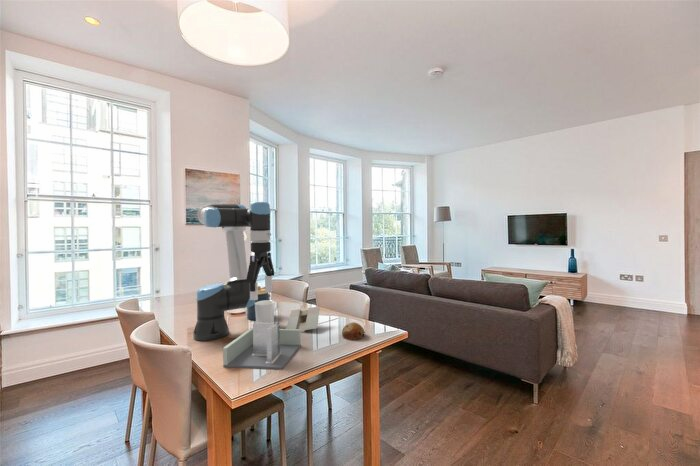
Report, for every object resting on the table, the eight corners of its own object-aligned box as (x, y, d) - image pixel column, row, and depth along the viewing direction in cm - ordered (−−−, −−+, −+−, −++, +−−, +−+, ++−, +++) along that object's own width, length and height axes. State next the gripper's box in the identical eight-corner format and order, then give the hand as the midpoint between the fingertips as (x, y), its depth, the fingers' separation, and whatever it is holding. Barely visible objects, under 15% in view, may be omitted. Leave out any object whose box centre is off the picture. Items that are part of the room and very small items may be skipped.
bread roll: (356, 339, 144) (351, 322, 146) (371, 335, 137) (365, 317, 139) (341, 345, 137) (335, 327, 139) (355, 341, 130) (349, 322, 132)
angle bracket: (279, 353, 118) (279, 322, 118) (271, 362, 110) (271, 329, 110) (255, 352, 119) (254, 322, 119) (245, 361, 111) (244, 328, 111)
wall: (323, 337, 149) (323, 311, 160) (318, 328, 143) (319, 301, 154) (290, 342, 150) (293, 315, 162) (284, 333, 145) (288, 306, 156)
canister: (263, 312, 181) (262, 283, 181) (275, 316, 172) (274, 285, 172) (242, 317, 172) (241, 286, 171) (254, 322, 163) (253, 289, 162)
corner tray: (223, 366, 109) (222, 348, 109) (251, 343, 131) (250, 328, 131) (282, 369, 106) (281, 350, 106) (300, 345, 128) (300, 329, 128)
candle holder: (264, 330, 149) (263, 305, 149) (250, 327, 154) (250, 303, 154) (279, 324, 157) (278, 301, 157) (265, 322, 162) (265, 299, 162)
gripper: (255, 243, 107) (256, 303, 107) (281, 240, 131) (282, 289, 132) (235, 243, 108) (236, 303, 108) (264, 240, 132) (265, 288, 133)
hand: (261, 295), depth 120 cm, fingers open, 13 cm apart
